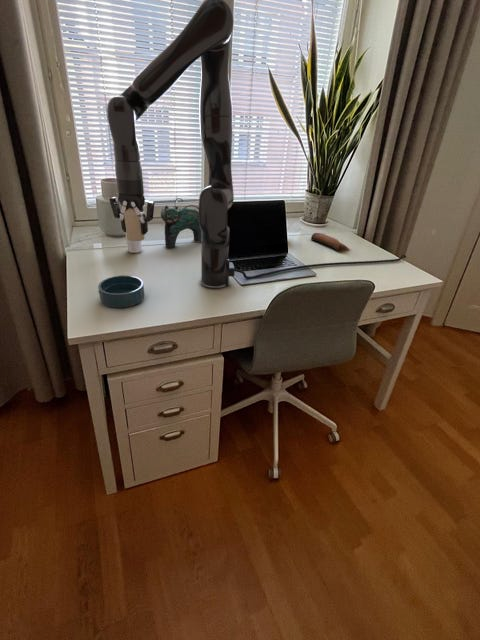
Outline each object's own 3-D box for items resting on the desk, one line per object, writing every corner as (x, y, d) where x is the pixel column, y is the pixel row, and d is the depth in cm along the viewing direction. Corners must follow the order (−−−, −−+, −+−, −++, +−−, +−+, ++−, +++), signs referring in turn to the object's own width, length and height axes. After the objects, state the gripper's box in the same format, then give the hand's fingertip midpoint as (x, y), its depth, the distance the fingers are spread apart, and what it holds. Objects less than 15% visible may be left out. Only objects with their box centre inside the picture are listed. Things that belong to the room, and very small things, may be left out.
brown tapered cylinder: (350, 248, 160) (348, 237, 156) (340, 258, 159) (337, 247, 155) (322, 237, 173) (319, 226, 168) (312, 245, 172) (309, 235, 167)
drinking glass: (144, 253, 142) (141, 216, 134) (127, 254, 140) (123, 217, 132) (142, 247, 148) (138, 212, 140) (125, 249, 145) (121, 212, 137)
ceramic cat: (167, 250, 147) (164, 201, 136) (159, 245, 151) (156, 198, 140) (206, 242, 158) (206, 196, 147) (198, 238, 162) (197, 193, 152)
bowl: (145, 288, 116) (144, 275, 114) (142, 308, 105) (141, 294, 103) (104, 289, 114) (102, 275, 111) (97, 309, 103) (94, 295, 100)
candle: (139, 242, 109) (136, 210, 104) (123, 240, 110) (119, 208, 105) (147, 237, 114) (144, 206, 109) (132, 235, 115) (128, 204, 109)
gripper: (157, 176, 104) (161, 232, 113) (113, 172, 106) (120, 226, 115) (146, 181, 98) (151, 239, 107) (100, 176, 100) (108, 233, 109)
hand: (135, 232), depth 111 cm, fingers closed on candle, 5 cm apart
